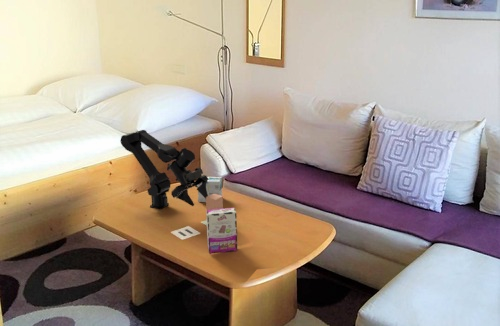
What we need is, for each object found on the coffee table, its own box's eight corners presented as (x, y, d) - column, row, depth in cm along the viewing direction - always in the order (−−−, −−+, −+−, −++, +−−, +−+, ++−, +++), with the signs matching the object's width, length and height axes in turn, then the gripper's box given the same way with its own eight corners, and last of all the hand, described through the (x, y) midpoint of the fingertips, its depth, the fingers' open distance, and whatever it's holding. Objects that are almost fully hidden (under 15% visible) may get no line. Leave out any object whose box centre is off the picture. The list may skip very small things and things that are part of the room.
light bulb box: (222, 197, 262) (222, 176, 259) (220, 203, 256) (220, 181, 252) (200, 196, 263) (199, 175, 260) (197, 202, 257) (197, 180, 253)
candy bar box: (235, 245, 216) (234, 207, 210) (237, 251, 211) (237, 212, 206) (207, 247, 214) (205, 209, 208) (208, 254, 209) (207, 214, 204)
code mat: (184, 244, 216) (184, 243, 216) (164, 232, 227) (164, 230, 226) (236, 226, 232) (236, 224, 231) (214, 215, 243) (214, 213, 242)
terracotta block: (206, 223, 233) (206, 197, 229) (214, 219, 237) (213, 193, 233) (215, 226, 230) (215, 199, 226) (223, 222, 234) (222, 196, 230)
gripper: (175, 169, 226) (195, 200, 223) (204, 157, 240) (224, 186, 238) (162, 182, 233) (182, 212, 230) (192, 170, 247) (211, 199, 245)
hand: (200, 202), depth 236 cm, fingers open, 9 cm apart
